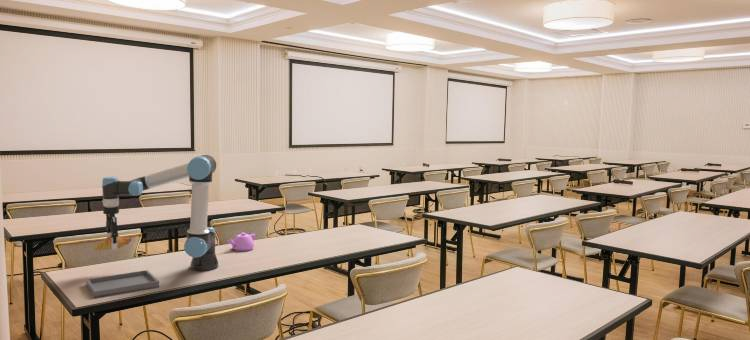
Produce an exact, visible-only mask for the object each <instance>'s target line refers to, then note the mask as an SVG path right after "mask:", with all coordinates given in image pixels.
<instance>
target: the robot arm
mask: <svg viewBox="0 0 750 340" xmlns="http://www.w3.org/2000/svg"><path fill="white" fill-rule="evenodd" d="M216 169H217V161H216V159H214V157H213V156H211V155H209V154H202V155H197V156H195V157H193V158H192V159H190V161H189V162H188V163H187V162H186V163H184V164H181V165H177V166H174V167H172V168H168V169H167V168H166V169H164V170H160V171H157V172H154V173H151V174H148V175H144V176H141V177H138V178H134V179H131V180H128V181H127V180H122V181H121V180H119V178H118V177H117V176H106V177H103V178H102V180H101V181H102V183H101V184H102V185H101V187H102V200H101V202H102V206H103V207H102V213H103V214H104V215H105V218H106V220H105V231H106V239H107V238H108V237H109V236H110V238H111V247H112V250H118V249H117V236H118V235H119V233H118V230H119V229H118V224H117V223H118V221H117V220H118V218H117V216H116V214H119V212H120V206H119V205H120V198H119V197H120V196H140V195H142V194H143V191H147V190H151V189H153V188H157V187H161V186H163V185H167V184H170V183H174V182H178V181H181V180H185V179H187V178H188V181H189V183H191V197H190V198H191V199H190V201H191V202H190V221H189V222H190V224H189V229H187V230H186V239H185V242H184V243H183V244H184V245H183V248H184V249H183V250H184V252H185V253H186V254H187V256H189V257H191V258H192V259H191V260H190V261H191V262H190V265H189V266H190V269H191V270H192V271H198V272H199V271H201V272H202V271H211V270H215V269H217V268H218V267H219V261H218V258H217V254H216V229H215V228H214V227H211V226H208V216H209V215H208V214H209V211H208V210H209V209H208V208H209V190H210V188H209V186H210V184H211V183H212V182H213V173H214V172H216Z"/></svg>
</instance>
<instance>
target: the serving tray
mask: <svg viewBox="0 0 750 340" xmlns="http://www.w3.org/2000/svg"><path fill="white" fill-rule="evenodd" d="M85 281H86V282H85V283H86V287H87V288H88V289H89V291H90V293H91V295H92V296H93V298H95V299H96V298H102V297H108V296H113V295H120V294H126V293H130V292H131V293H132V292H137V291H144V290H149V289H155V288H160V281H159V280H158V279H157V278H156V276H154V275H153V273H151V272H150V271H149V270H148V269H145V270H138V271H132V272H131V271H130V272H126V273H125V272H124V273H118V274H112V275H105V276H99V277H90V278H86V280H85Z"/></svg>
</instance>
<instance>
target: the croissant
mask: <svg viewBox="0 0 750 340" xmlns="http://www.w3.org/2000/svg"><path fill="white" fill-rule="evenodd" d="M131 241H132V238H130V237H124V236H120V235H119V234H118V236H117V249H116V250H118V249H120V248H122V247H125V246H126V245H128V244H129V243H130V242H131ZM92 249H93V250H94V251H97V252H98V251H111V250H112V247H111V238H110V236H109V237H108V238H107V237H106V238H105V239H103V240H102V241H100V242H98V243H97V244H96V245H94V246H93V247H92Z"/></svg>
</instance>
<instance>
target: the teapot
mask: <svg viewBox="0 0 750 340" xmlns="http://www.w3.org/2000/svg"><path fill="white" fill-rule="evenodd" d="M255 239H256V233H251V234H247V233H246V232H241V233H240V234H237V235H236V236H235V238H233V239H232V238H228V240H227V241H228V243H229V244H230V245H231V246H232V247H231V248H232V249H234V251H237V252H246V251H247V252H248V251H251V250H253V249H254V248H255V243H254V242H255Z"/></svg>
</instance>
